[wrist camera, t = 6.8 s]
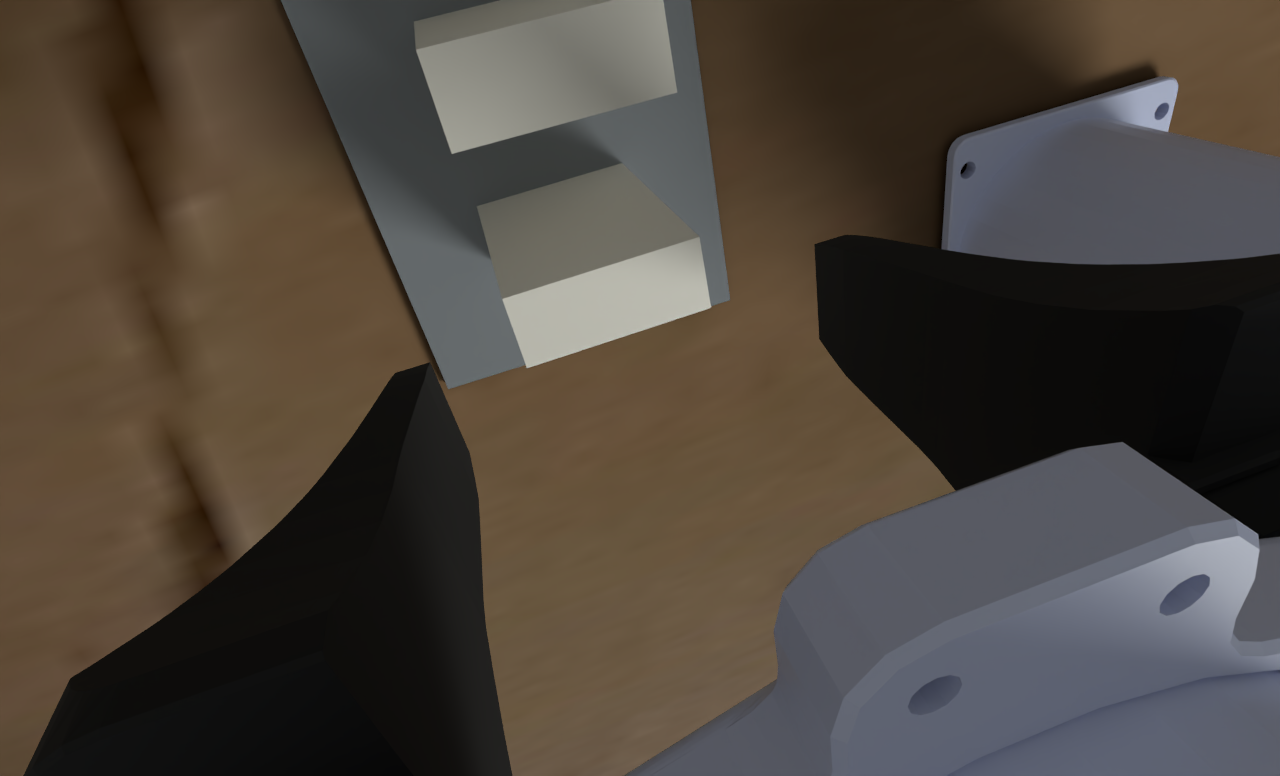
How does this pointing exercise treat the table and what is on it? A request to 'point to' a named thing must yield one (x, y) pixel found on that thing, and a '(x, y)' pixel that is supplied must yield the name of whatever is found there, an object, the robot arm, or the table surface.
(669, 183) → the mat
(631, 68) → the domino
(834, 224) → the table surface
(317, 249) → the table surface
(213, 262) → the table surface
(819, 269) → the robot arm
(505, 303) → the domino
